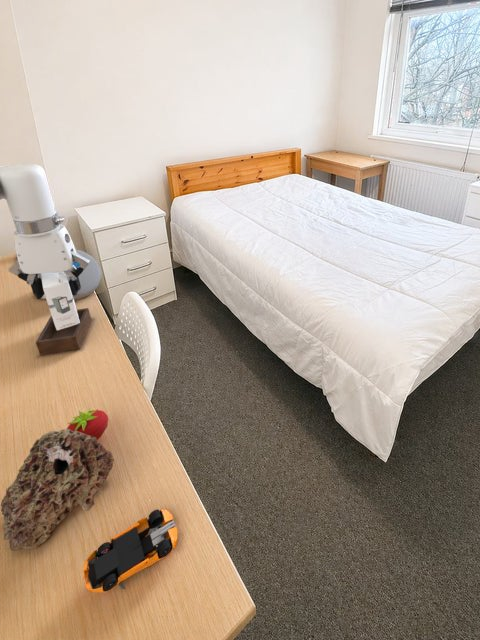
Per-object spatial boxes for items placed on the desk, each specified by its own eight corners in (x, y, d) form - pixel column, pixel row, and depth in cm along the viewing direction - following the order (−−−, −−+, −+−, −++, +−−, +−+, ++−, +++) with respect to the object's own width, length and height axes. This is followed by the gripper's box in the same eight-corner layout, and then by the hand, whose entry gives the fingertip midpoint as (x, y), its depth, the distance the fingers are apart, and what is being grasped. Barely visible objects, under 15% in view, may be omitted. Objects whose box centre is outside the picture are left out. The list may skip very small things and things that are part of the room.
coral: (-26, 494, 61) (45, 539, 64) (-50, 534, 50) (36, 586, 53) (68, 401, 70) (125, 445, 73) (65, 418, 59) (133, 469, 62)
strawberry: (117, 443, 73) (107, 410, 69) (76, 466, 69) (62, 432, 65) (109, 423, 77) (99, 391, 73) (70, 444, 73) (57, 411, 69)
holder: (40, 355, 96) (35, 342, 94) (56, 324, 107) (52, 312, 105) (79, 349, 98) (75, 336, 96) (91, 320, 110) (88, 307, 108)
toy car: (148, 604, 49) (150, 615, 50) (187, 511, 60) (188, 522, 61) (71, 583, 50) (75, 595, 52) (122, 496, 61) (125, 507, 63)
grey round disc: (28, 290, 110) (33, 284, 107) (49, 243, 121) (54, 236, 118) (90, 306, 121) (96, 301, 118) (104, 262, 132) (110, 256, 129)
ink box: (52, 313, 87) (39, 271, 82) (75, 306, 89) (64, 266, 84) (56, 331, 81) (42, 288, 76) (80, 323, 83) (68, 281, 78)
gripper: (87, 214, 80) (103, 281, 87) (-2, 219, 76) (23, 289, 83) (77, 227, 73) (95, 298, 81) (-21, 233, 69) (8, 308, 77)
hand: (58, 293), depth 82 cm, fingers closed on ink box, 6 cm apart
